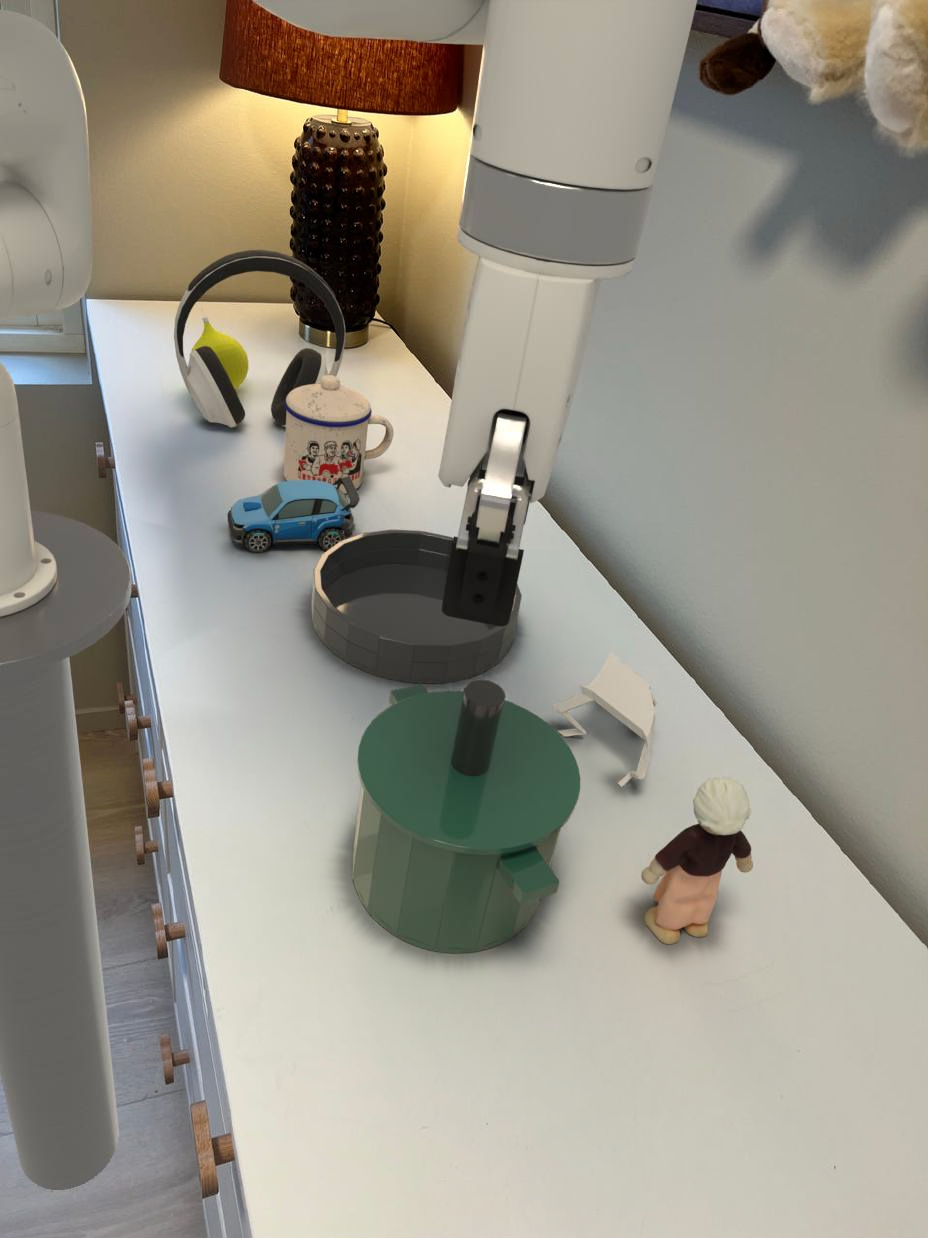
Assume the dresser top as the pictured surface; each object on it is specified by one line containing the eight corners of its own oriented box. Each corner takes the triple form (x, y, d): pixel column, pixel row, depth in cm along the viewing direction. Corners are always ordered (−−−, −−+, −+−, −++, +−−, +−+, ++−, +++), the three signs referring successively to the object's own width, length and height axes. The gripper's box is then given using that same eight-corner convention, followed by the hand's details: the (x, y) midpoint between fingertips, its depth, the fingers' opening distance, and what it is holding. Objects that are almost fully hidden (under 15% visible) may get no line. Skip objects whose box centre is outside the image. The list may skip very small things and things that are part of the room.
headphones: (180, 439, 110) (176, 258, 98) (171, 408, 116) (167, 234, 105) (345, 437, 117) (360, 267, 105) (329, 408, 123) (341, 245, 112)
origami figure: (529, 705, 80) (540, 658, 77) (614, 690, 83) (628, 644, 81) (602, 809, 71) (618, 760, 69) (694, 787, 75) (712, 740, 72)
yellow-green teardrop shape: (186, 379, 124) (185, 300, 118) (242, 379, 126) (244, 302, 121) (193, 402, 118) (192, 321, 113) (252, 401, 121) (254, 322, 115)
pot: (419, 1019, 55) (441, 912, 50) (310, 801, 68) (319, 696, 63) (599, 951, 61) (637, 848, 56) (468, 761, 74) (489, 662, 68)
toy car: (225, 524, 96) (225, 472, 93) (344, 521, 100) (348, 471, 97) (232, 555, 92) (233, 502, 89) (356, 551, 96) (361, 500, 93)
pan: (358, 702, 77) (362, 662, 75) (283, 579, 90) (285, 542, 88) (550, 661, 86) (559, 625, 83) (457, 554, 98) (462, 520, 96)
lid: (413, 890, 52) (429, 803, 48) (323, 727, 61) (330, 643, 57) (619, 826, 58) (648, 744, 54) (508, 686, 67) (526, 608, 64)
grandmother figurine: (696, 885, 67) (754, 749, 60) (733, 928, 64) (798, 791, 57) (606, 919, 63) (657, 779, 56) (641, 967, 61) (699, 826, 53)
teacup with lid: (291, 500, 102) (296, 395, 96) (273, 460, 109) (277, 360, 102) (399, 495, 107) (412, 395, 100) (376, 457, 113) (386, 361, 107)
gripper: (485, 164, 47) (439, 479, 57) (429, 248, 33) (380, 649, 43) (637, 192, 47) (565, 503, 57) (647, 289, 33) (548, 682, 43)
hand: (486, 565), depth 50 cm, fingers open, 9 cm apart
